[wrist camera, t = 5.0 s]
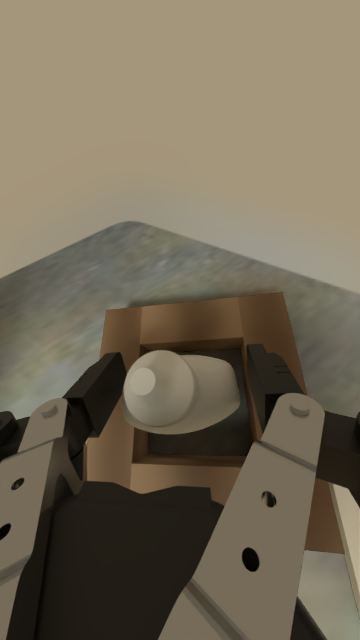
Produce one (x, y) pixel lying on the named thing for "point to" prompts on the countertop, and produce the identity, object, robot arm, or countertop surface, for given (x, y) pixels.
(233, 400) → the eye dropper bottle
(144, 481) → the walnut socket stand
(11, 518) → the robot arm
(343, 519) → the off-white tile
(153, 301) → the countertop surface
